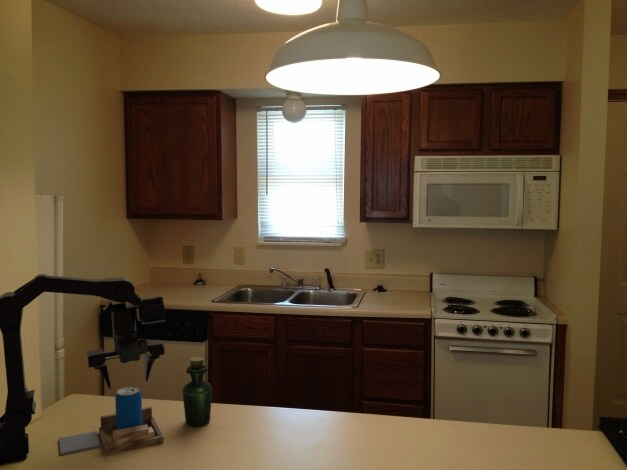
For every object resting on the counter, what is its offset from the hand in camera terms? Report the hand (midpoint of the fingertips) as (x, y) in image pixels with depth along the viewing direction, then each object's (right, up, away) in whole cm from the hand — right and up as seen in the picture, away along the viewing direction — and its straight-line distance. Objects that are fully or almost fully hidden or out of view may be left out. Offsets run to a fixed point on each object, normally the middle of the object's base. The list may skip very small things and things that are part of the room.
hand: (128, 384), depth 136 cm
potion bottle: (+16, -13, +9) cm, 23 cm away
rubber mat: (-11, -14, -4) cm, 18 cm away
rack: (+1, -14, -1) cm, 14 cm away
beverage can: (0, -14, +1) cm, 14 cm away
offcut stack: (+3, -14, -4) cm, 15 cm away
